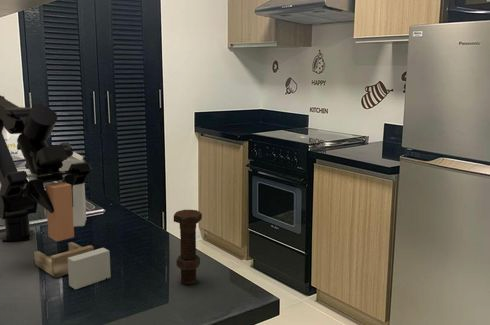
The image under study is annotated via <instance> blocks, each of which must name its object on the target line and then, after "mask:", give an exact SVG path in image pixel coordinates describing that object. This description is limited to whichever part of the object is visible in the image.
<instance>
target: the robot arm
mask: <svg viewBox="0 0 490 325" xmlns="http://www.w3.org/2000/svg"><path fill="white" fill-rule="evenodd" d="M57 122H58V115H57V112H55V111H54V110H53V109H52V108H50V107H48V106H44V104H43V103H42V102H33V103H32V105H31V107H24V106H23V107H22V106H18V105H16V104H14V103H13V102H11V101H9V100H8V99H6V98H5V96H4V95H0V185H1V186H0V219H1V220H4V226H5V227H4V228H5V235H4V236H3V238H2V239H1V241H2V243H4V242H5V243H6V242H17V241H18V242H19V241H30V240H31V238H32V236H33V234H34V230H32V229H31V227H30V216H29V215H31V214H37V209H38V204H39V205H40V206H41V207H42V208H44V209H45V210H46V211H47V210H48V211H49V212H50V213H53V212H54V208H53V205H52V203H51V201H50V199H49V197H48V195H47V193H46V191H45V184H49V183H53V182H54V183H55V182H65V183H68V184H70V185H71V188H72V206H73V185H79V184H83V183H84V184H86V181H87V180H88V178H89V176H90V175H91V173H92V171H93V169H92V167H91V166H90V164H89V163H88V162H85V161H83V162H81V163H74V164H71V166H70V168H69V170H68V171H59V168H62V166H63V164H62V161H64V160H67V158H69V157H71V156H72V155H73V152H74V151H73V146H72V145H71V143H70V142H69V141H68V142H61V144H59V145H58V144H57V145H51V146H49V145H48V143H47V140H48V139H49V138H50V137H51V136H52V135H51V134H52V133H53V130H54V128H55V125H56V123H57ZM3 130H6V131H7V132H8V133H9V134H10V135H15V134H16V135H18V137H17V139H16V141H17V145H16V150H18V151H20V152H21V154H22V156H23V158H24V161H25V164H24V166H25V169H26V170H29V172H30V173H29V174H28V173H27V171H25V170H20V171H19V170H18V169H17V166H16V164H15V161H14V159H13V156H12V154H11V151H10V150H9V147H8V144H7V142H6V140H5V137H4V135H3ZM71 146H72V147H71Z"/></svg>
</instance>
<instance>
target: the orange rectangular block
mask: <svg viewBox="0 0 490 325" xmlns="http://www.w3.org/2000/svg"><path fill="white" fill-rule="evenodd" d="M44 189H45V191H46V193H47V195H48V197H49V199H50V201H51V203H52V205H53V208H54V212H53V213H50V212H49V211H48V210H46V219H47V220H46V221H47V234H48V235H47V236H48V238H49V239H52V240H54V241H55V242H60V241H61V242H62V241H63V240H69V239H73V238H74V237H75V227H74V223H73V206H72V188H71V185H70V184H68V183H65V182H59V181H57V182H54V183H53V182H51V183H45V184H44Z"/></svg>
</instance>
